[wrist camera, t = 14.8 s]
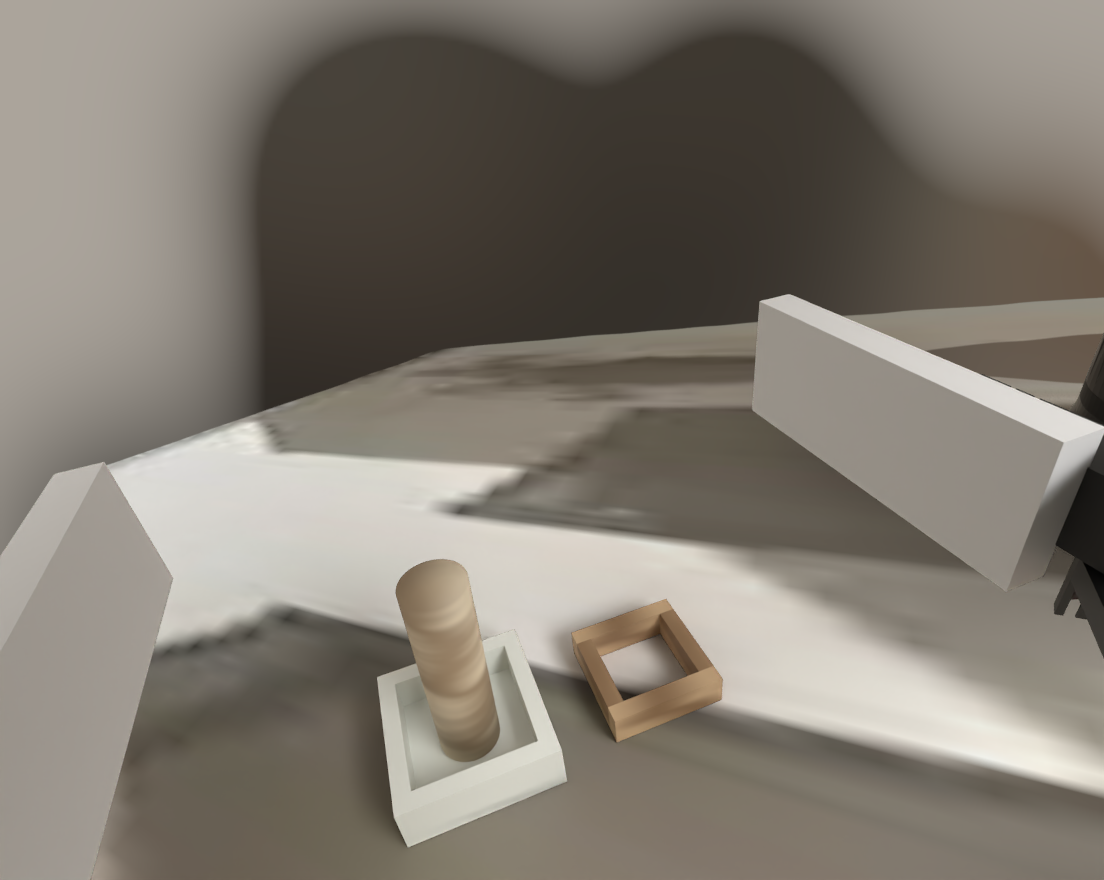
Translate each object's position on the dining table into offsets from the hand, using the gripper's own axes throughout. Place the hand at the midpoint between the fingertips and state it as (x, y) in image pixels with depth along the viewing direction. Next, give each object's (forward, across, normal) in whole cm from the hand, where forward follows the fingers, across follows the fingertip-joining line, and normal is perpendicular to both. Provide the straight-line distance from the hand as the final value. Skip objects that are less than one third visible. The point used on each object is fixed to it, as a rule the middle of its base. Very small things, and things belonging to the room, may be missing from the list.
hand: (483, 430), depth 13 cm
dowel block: (+13, +9, -28) cm, 32 cm away
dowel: (+13, -2, -27) cm, 30 cm away
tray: (+13, -2, -28) cm, 31 cm away
